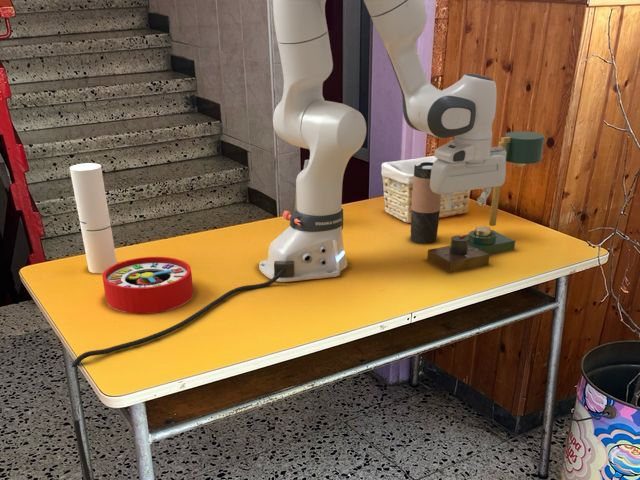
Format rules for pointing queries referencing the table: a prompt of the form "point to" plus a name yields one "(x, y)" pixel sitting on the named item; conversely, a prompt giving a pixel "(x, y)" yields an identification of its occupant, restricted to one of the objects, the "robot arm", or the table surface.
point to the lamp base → (491, 242)
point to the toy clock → (148, 284)
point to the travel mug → (424, 206)
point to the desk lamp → (518, 157)
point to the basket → (401, 189)
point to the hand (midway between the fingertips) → (465, 207)
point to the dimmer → (457, 259)
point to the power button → (482, 231)
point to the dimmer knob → (459, 244)
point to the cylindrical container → (93, 216)
